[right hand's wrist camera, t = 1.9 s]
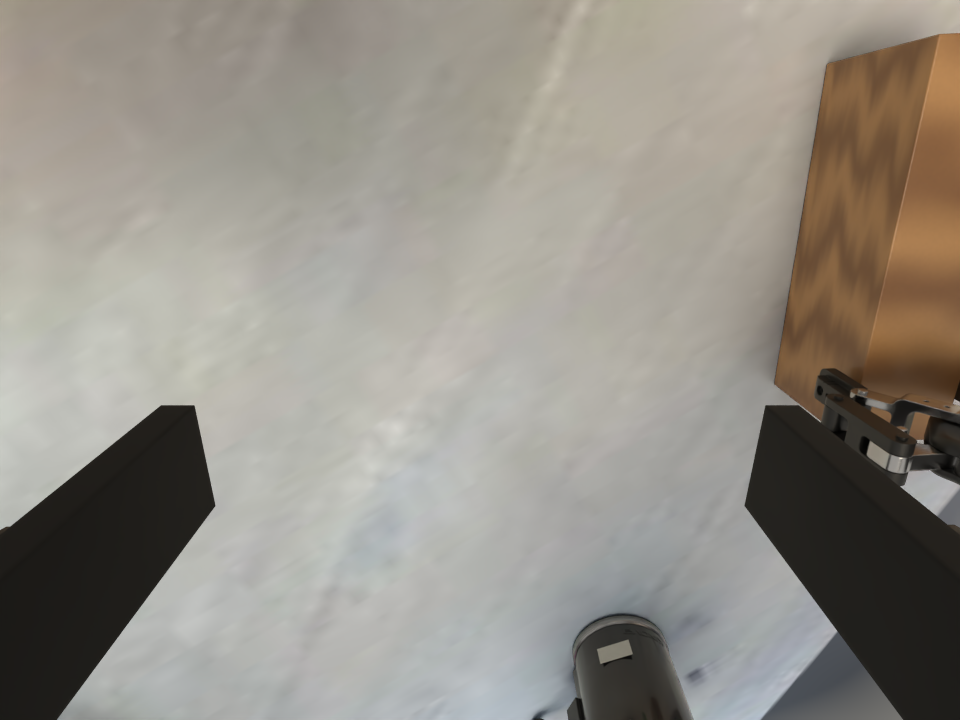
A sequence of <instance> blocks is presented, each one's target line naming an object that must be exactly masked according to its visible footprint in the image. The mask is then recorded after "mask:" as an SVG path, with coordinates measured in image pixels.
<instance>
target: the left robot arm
mask: <svg viewBox="0 0 960 720" xmlns="http://www.w3.org/2000/svg"><path fill="white" fill-rule="evenodd" d="M814 397H815V399H817V400H818V401H819V402H821V403H822V404H824V410H823V415H822V419H821V424H823V425H824V426H825V427H826V428H828V429H829V430H830V431H831V432H833V433H834V434H835V435H836V436H838V437H839V438H840V439H841V440H843V441H844V442H845V443H846V444H847V445H849V446H850V447H851V448H852V449H854V450H855V451H856V452H857V453H859V454H860V455H861V456H862V457H864V458H865V459H866V460H867V461H869V462H870V463H871V464H872V465H874V466H875V467H876V468H877V469H879V470H880V471H881V472H882V473H884V474H885V475H886V476H887V477H889V478H890V479H891V480H892V481H894V482H895V483H896V484H897V485H898V486H903V485H904V484H905V482H906V478H907V475H908V472H909V471H922V470H931V471H932V472H933V473H935V474H936V475H938V476H940V477H942V478H945V479H947V480H950V481H952V482H955V483H957V484H959V485H960V406H958V405H954V404H950V403H947V402H943V401H939V400H935V399H931V398H928V397H924V396H920V395H916V394H912V393H909V394H905V395H904V396H902V397H901V398H896V397H892V396H888V395H885V394H881V393H877V392H874V391H870V390H868V388H866V387H864V386H863V385H861V384H860V383H858V382H856V381H855V380H853V379H852V378H850V377H848V376H847V375H845V374H844V373H842V372H841V371H839V370H837V369H836V368H823V369H822V370H821V371H820V374H819V375H818V376H817V381H816V386H815V391H814ZM954 399H956V400H958V401H959V402H960V381H959V384H958V388H957V391H956V394H955V398H954ZM872 407H875V408H878V409H882V410H885V411H888V412H889V413H890V414H891V420H890V423H889V422H887V421H886V420H884V419H883V418H881V417H879V416H878V415H876V414H875V413H873V412H871V409H872ZM915 412H919V413H923V414H926V415H930V417H929V420H928V423H927V426H926V430H925V433H924V444H919V443H917V440H916V439H915V438H913V437H912V436H910V435H909V433H910V429H911V425H912V422H913V418H914V415H915ZM846 430H847V431H846ZM573 660H574V666H575V669H574V671H573V676H574V681H575V687H576V693H577V698H575V699H574V701H573V702H572V704H571V705H570V707H569V708H568V710H567V714H568V720H694V719H693V716H692V714H691V711H690V708H689V706H688V703H687V700H686V698H685V695H684V692H683V690H682V687H681V684H680V682H679V679H678V676H677V673H676V671H675V668H674V665H673V663H672V660H671V657H670V655H669V651H668V647H667V644H666V641H665V638H664V636H663V634H662V633H661V631H660V630H659V629H658V628H657V627H656V626H655V625H654V624H652V623H651V622H649V621H647V620H645V619H642V618H639V617H635V616H626V615H620V616H612V617H607V618H604V619H601V620H599V621H596V622H594V623H593V624H591V625H589V626H588V627H587V628H585V629H584V630H583V631H582V632H581V633H580V635H579V636H578V638H577V639H576V641H575V644H574V647H573ZM535 720H543V719H540V718H539V719H535Z"/></svg>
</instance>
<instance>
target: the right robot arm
mask: <svg viewBox="0 0 960 720" xmlns="http://www.w3.org/2000/svg"><path fill="white" fill-rule="evenodd" d="M214 507H215V502H214V497H213V492H212V487H211V482H210V478H209V473H208V468H207V463H206V459H205V454H204V449H203V444H202V439H201V435H200V430H199V425H198V420H197V415H196V411H195V406H194V405H161V406H160V407H159V408H157V409H156V410H155V411H154V412H152V413H151V414H150V415H149V416H147V417H146V418H145V419H144V420H142V421H141V422H140V423H139V424H137V425H136V426H135V427H134V428H132V429H131V430H130V431H129V432H127V433H126V434H125V435H124V436H122V437H121V438H120V439H119V440H117V441H116V442H115V443H114V444H113V445H111V446H110V447H109V448H108V449H106V450H105V451H104V452H103V453H101V454H100V455H99V456H98V457H96V458H95V459H94V460H93V461H91V462H90V463H89V464H88V465H86V466H85V467H84V468H83V469H81V470H80V471H79V472H78V473H76V474H75V475H74V476H73V477H71V478H70V479H69V480H68V481H66V482H65V483H64V484H63V485H62V486H60V487H59V488H58V489H57V490H55V491H54V492H53V493H52V494H50V495H49V496H48V497H47V498H45V499H44V500H43V501H42V502H40V503H39V504H38V505H37V506H35V507H34V508H33V509H32V510H30V511H29V512H28V513H27V514H25V515H24V516H23V517H22V518H20V519H19V520H18V521H17V522H15V523H14V524H13V525H12V526H10V527H5V528H3V529H1V530H0V720H57V719H58V717H59V716H60V715H61V713H62V712H63V711H64V709H65V708H66V706H67V705H68V704H69V702H70V701H71V700H72V698H73V697H74V696H75V694H76V693H77V692H78V690H79V689H80V688H81V686H82V685H83V684H84V682H85V681H86V680H87V678H88V677H89V675H90V674H91V673H92V671H93V670H94V669H95V667H96V666H97V665H98V663H99V662H100V661H101V659H102V658H103V657H104V655H105V654H106V653H107V651H108V650H109V649H110V647H111V646H112V644H113V643H114V642H115V640H116V639H117V638H118V636H119V635H120V634H121V632H122V631H123V630H124V628H125V627H126V626H127V624H128V623H129V622H130V620H131V619H132V618H133V616H134V615H135V613H136V612H137V611H138V609H139V608H140V607H141V605H142V604H143V603H144V601H145V600H146V599H147V597H148V596H149V595H150V593H151V592H152V591H153V589H154V588H155V587H156V585H157V584H158V582H159V581H160V580H161V578H162V577H163V576H164V574H165V573H166V572H167V570H168V569H169V568H170V566H171V565H172V564H173V562H174V561H175V560H176V558H177V557H178V556H179V554H180V553H181V551H182V550H183V549H184V547H185V546H186V545H187V543H188V542H189V541H190V539H191V538H192V537H193V535H194V534H195V533H196V531H197V530H198V529H199V527H200V526H201V525H202V523H203V522H204V520H205V519H206V518H207V516H208V515H209V514H210V512H211V511H212V510H213V508H214ZM745 507H746V508H747V510H748V511H749V512H750V514H751V515H752V516H753V518H754V519H755V520H756V522H757V523H758V525H759V526H760V527H761V529H762V530H763V531H764V533H765V534H766V535H767V537H768V538H769V539H770V541H771V542H772V543H773V545H774V546H775V547H776V549H777V550H778V551H779V553H780V554H781V556H782V557H783V558H784V560H785V561H786V562H787V564H788V565H789V566H790V568H791V569H792V570H793V572H794V573H795V574H796V576H797V577H798V578H799V580H800V581H801V582H802V584H803V585H804V587H805V588H806V589H807V591H808V592H809V593H810V595H811V596H812V597H813V599H814V600H815V601H816V603H817V604H818V605H819V607H820V608H821V609H822V611H823V612H824V613H825V615H826V616H827V618H828V619H829V620H830V622H831V623H832V624H833V626H834V627H835V628H836V630H837V631H838V632H839V634H840V635H841V636H842V638H843V639H844V640H845V642H846V643H847V644H848V646H849V647H850V649H851V650H852V651H853V653H854V654H855V655H856V657H857V658H858V659H859V661H860V662H861V663H862V665H863V666H864V667H865V669H866V670H867V671H868V673H869V674H870V675H871V677H872V678H873V680H874V681H875V682H876V684H877V685H878V686H879V688H880V689H881V690H882V692H883V693H884V694H885V696H886V697H887V698H888V700H889V701H890V702H891V704H892V705H893V706H894V708H895V709H896V711H897V712H898V713H899V715H900V716H901V717H902V719H903V720H960V528H959V527H957V526H956V525H947V524H946V523H945V522H943V521H942V520H941V519H940V518H938V517H937V516H936V515H935V514H933V513H932V512H931V511H930V510H928V509H927V508H926V507H925V506H923V505H922V504H921V503H920V502H918V501H917V500H916V499H915V498H913V497H912V496H911V495H910V494H908V493H907V492H906V491H905V490H903V489H902V488H901V487H900V486H898V485H897V484H896V483H895V482H894V481H892V480H891V479H890V478H889V477H887V476H886V475H885V474H884V473H882V472H881V471H880V470H879V469H877V468H876V467H875V466H874V465H872V464H871V463H870V462H869V461H867V460H866V459H865V458H864V457H862V456H861V455H860V454H859V453H857V452H856V451H855V450H854V449H852V448H851V447H850V446H849V445H847V444H846V443H845V442H844V441H843V440H841V439H840V438H839V437H838V436H836V435H835V434H834V433H833V432H831V431H830V430H829V429H828V428H826V427H825V426H824V425H823V424H821V423H820V422H819V421H818V420H816V419H815V418H814V417H813V416H811V415H810V414H809V413H808V412H806V411H805V410H804V409H803V408H801V407H800V406H799V405H766V406H765V411H764V415H763V420H762V425H761V430H760V435H759V439H758V444H757V449H756V454H755V459H754V463H753V468H752V473H751V478H750V482H749V487H748V492H747V497H746V502H745Z"/></svg>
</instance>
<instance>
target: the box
mask: <svg viewBox="0 0 960 720" xmlns="http://www.w3.org/2000/svg"><path fill="white" fill-rule="evenodd" d="M823 368H836V369H837V370H839V371H841V372H842V373H844V374H845V375H847V376H848V377H850V378H852V379H853V380H855V381H856V382H858V383H860V384H861V385H863V386H864V387H866V388H868V390H870V391H874V392H877V393H881V394H885V395H888V396H892V397H896V398H901V397H902V396H904V395H905V394H909V393H912V394H916V395H920V396H924V397H928V398H931V399H935V400H939V401H943V402H947V403H950V404H953V401H954V398H955V394H956V391H957V388H958V384H959V381H960V33H951V34H938V35H934V36H931V37H927V38H923V39H919V40H915V41H912V42H908V43H904V44H900V45H896V46H893V47H889V48H885V49H881V50H877V51H874V52H870V53H866V54H862V55H859V56H855V57H851V58H847V59H843V60H840V61H836V62H832V63H828V64H827V68H826V74H825V80H824V87H823V93H822V99H821V105H820V111H819V117H818V123H817V129H816V135H815V141H814V147H813V153H812V159H811V165H810V171H809V177H808V183H807V189H806V195H805V202H804V208H803V214H802V220H801V226H800V232H799V238H798V244H797V250H796V256H795V262H794V268H793V274H792V280H791V286H790V292H789V298H788V304H787V310H786V316H785V323H784V329H783V335H782V341H781V347H780V353H779V359H778V365H777V371H776V377H775V383H774V384H775V385H776V386H777V387H778V388H780V389H781V390H782V391H784V392H785V393H786V394H787V395H789V396H790V397H791V398H792V399H794V400H795V401H796V402H798V403H799V404H800V405H801V406H803V407H804V408H805V409H806V410H808V411H809V412H810V413H812V414H813V415H814V416H815V417H817V418H818V419H819V420H820V421H821V419H822V415H823V410H824V404H822V403H821V402H819V401H818V400H817V399H815V397H814V391H815V386H816V381H817V376H818V375H819V374H820V371H821V370H822V369H823ZM871 412H873V413H875V414H876V415H878V416H879V417H881V418H883V419H884V420H886V421H887V422H889V423H890V420H891V414H890V413H889V412H888V411H885V410H882V409H878V408H875V407H872V409H871ZM929 417H930V415H926V414H923V413H919V412H915V415H914V418H913V422H912V425H911V429H910V433H909V435H910V436H912V437H913V438H915V439H916V440H924V433H925V430H926V426H927V423H928V420H929ZM846 431H847V430H846Z"/></svg>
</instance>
